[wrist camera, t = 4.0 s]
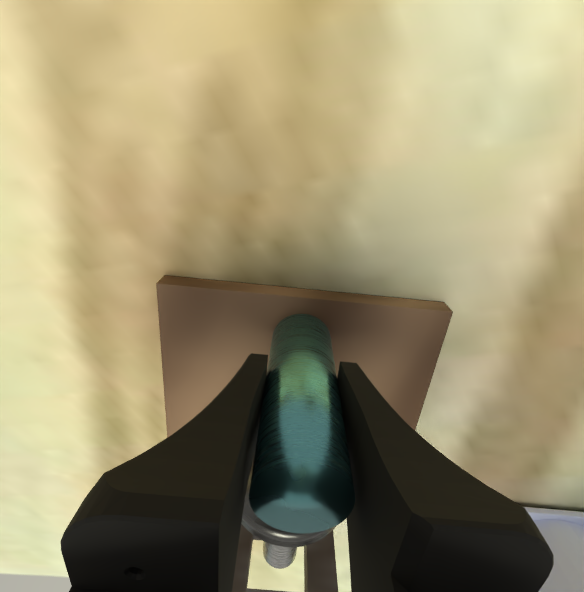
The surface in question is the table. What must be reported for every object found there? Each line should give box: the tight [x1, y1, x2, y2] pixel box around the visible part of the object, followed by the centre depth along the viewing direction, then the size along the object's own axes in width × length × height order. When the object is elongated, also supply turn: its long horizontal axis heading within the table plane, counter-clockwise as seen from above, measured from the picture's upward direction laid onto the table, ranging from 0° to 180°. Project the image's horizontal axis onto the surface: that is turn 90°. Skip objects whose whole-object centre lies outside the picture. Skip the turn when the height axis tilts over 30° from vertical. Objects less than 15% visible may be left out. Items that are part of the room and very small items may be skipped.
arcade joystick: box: [241, 314, 355, 568], centre depth 14 cm, size 5×11×8 cm, turn 175°
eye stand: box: [156, 276, 453, 592], centre depth 15 cm, size 13×14×7 cm
